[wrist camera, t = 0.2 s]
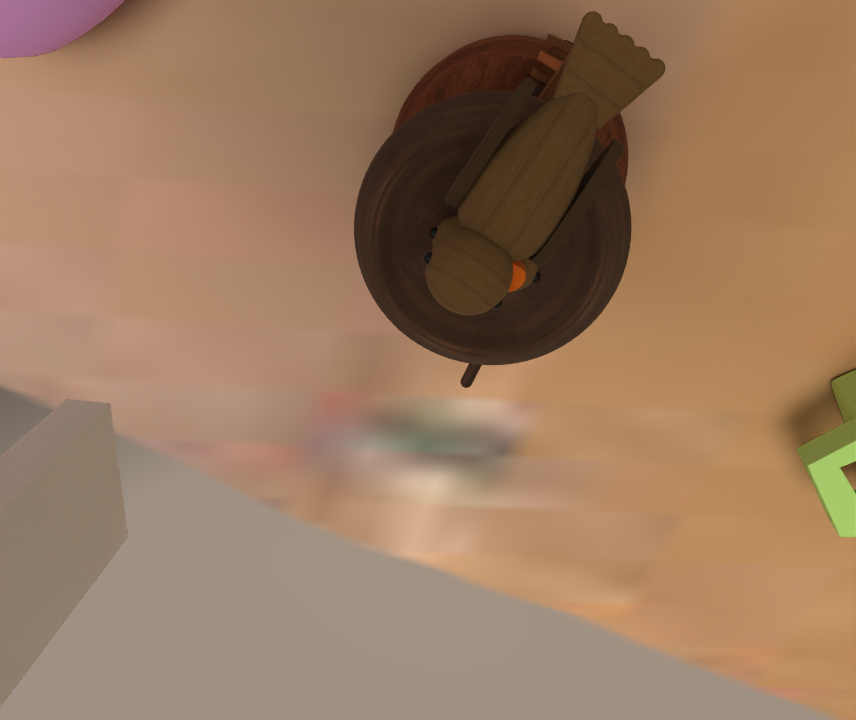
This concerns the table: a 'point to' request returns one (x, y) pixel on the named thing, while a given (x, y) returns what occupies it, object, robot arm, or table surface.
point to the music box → (505, 195)
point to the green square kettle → (836, 460)
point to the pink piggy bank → (47, 24)
